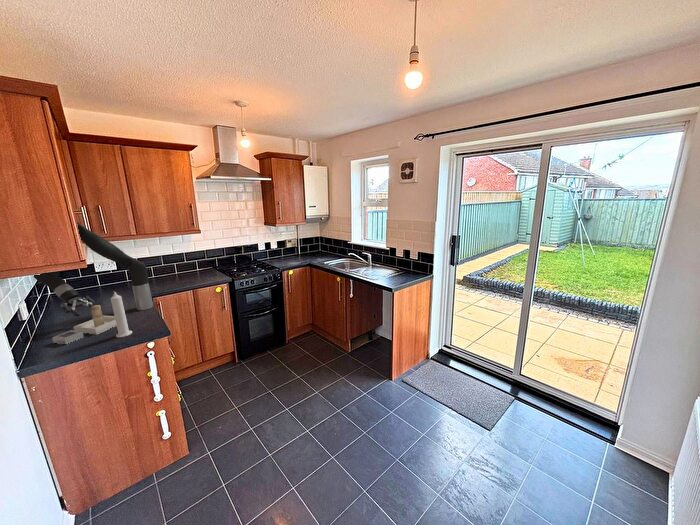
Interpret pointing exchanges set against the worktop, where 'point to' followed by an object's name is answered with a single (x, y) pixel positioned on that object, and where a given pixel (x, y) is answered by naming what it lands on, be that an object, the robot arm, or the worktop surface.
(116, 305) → the candle
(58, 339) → the collar
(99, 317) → the peg
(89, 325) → the tray
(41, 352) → the worktop surface
